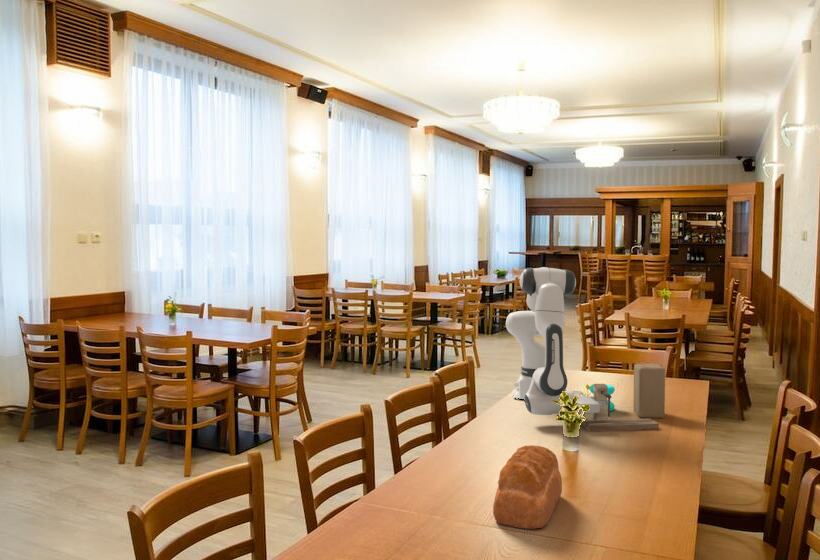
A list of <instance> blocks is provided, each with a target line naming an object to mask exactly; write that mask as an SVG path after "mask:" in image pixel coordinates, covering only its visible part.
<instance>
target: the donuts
mask: <svg viewBox="0 0 820 560" xmlns="http://www.w3.org/2000/svg"><path fill="white" fill-rule="evenodd" d="M594 384H595V383H594ZM594 384H591V385H590V386H589V391H590V392H591V393H592V394H593V395H594ZM604 384H605V385H607V386H608V394H609V395H611V396H612V395H613V394H614V393H615V391H616V388H615V387H614V386H613V385H611V384H608V383H604ZM614 409H615V403H614V402H612V401H611V400H610V412H612V411H614ZM607 413H608V405H607Z"/></svg>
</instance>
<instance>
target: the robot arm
mask: <svg viewBox="0 0 820 560" xmlns="http://www.w3.org/2000/svg"><path fill="white" fill-rule="evenodd" d="M576 285H577V279H576V275H575V273H574V272H573V271H571V270H568V269H560V268H554V267H546V266H542V267H535V268H533V267H527V268H524V269H522V272H521V274H520V276H519V286H520V290H521V291H522V292H523V293H525V294H527V295H526V306H527V307H528V308H529V309H530V310H518V311H514V312H510V313H509V314H508V315H507V317H506V320H505V328H506V330H507V332H508V333H509V334H510V335H511V336H513V337H514V338H515V339H516V341H517V342H518V344H519V345H520V350H521V357H522V358H521V359H522V363H521V364H522V365H521V368H520V376H519V377H518V379H517V381H514V383H513V386H514V388H515V389H512V395H513V394H514V393H515V392H516V393H515V394H514V397H515V398H520V399H524V400H525V401H524V400H523V401H524V405H525V408H526V410H527V411H528V412H529V413H530V414H531V415H537V416H550V415H560V414H559V411H560V410H561V409H562V406H560V405H558V404H556V403H554V402H553V401H552V400H555V401H560V399H559V396H560V394H561V393H562V391H565V392H566V393H567V394H568V395H569V396H570V399H571V400H572V399H573V397H574V395H579V394H580V393H583V396H579V398H578V400H577V403H578V405H580V406H582V405H585V404H588V405H590V410H589V411H587V412H584V413H583V414H593V413H599V412H600V407H601V406H606V401H595V400H594V396H589V395H587V394H586V393H584V392H583V391H581V390H580V391H579V390H567V387H568V376H567V375H566V374H567V373H566V370H565V368H564V339H563V335H564V334H563V333H564V328H565V325H566V324H565V323H566V321H565V320H566V319H565V301H564V300H565V299H564V297H566V296H570V295H572V294H573V293H574V291H575V289H576ZM537 336H539V337H542V340H543V341H544V344H545V345H543V344H541V343H539V342H538V341H535V337H537ZM516 389H517V391H518V392H517V391H516ZM586 395H587V396H588V397H587V398H586V397H585V396H586ZM514 397H513V398H514ZM578 412H579V413H582V409H580V410H579V411H578Z"/></svg>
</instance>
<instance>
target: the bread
mask: <svg viewBox="0 0 820 560" xmlns="http://www.w3.org/2000/svg"><path fill="white" fill-rule="evenodd" d="M559 468H560V467H559V462H558V458H557V455H556V454H555V452H554V451H552V450H551V449H549V448H548V447H544V446H542V445H531V444H529V445H524V446H521V447H519V448H517V449H516V451H515V452H514V453H513V454H512V455H511V457H509V458H508V459H507V461H506V463H505V465H504V466H502V469H501V470H500V471H499V476H498V477H499V478H498V481H497V484H498V485H497V488H496V491H495V496H494V502H493V504H492V505H493V506H492V507H493V509H492V513H493V517H494V520H495V521H496V522H497V523H498V524H500V525H503V526H507V527H512V528H516V529H517V528H518V529H529V530H535V529H541V528H542V529H543V528H544V527H545V526H546V525H547V524H548V522H550V521H549V520H550V518H551V517H552V515H553V514H554V510H555V509H556V507H557V505H558V503H559V501H560V498H561V495H562V493H563V482H562V474H561V472H560V469H559Z"/></svg>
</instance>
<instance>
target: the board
mask: <svg viewBox="0 0 820 560" xmlns="http://www.w3.org/2000/svg"><path fill="white" fill-rule="evenodd" d="M659 425H660V424H659V422H656V421H655V420H653V418H630V419H629V418H628V419H626V418H625V419H607V420H598V421H594V420H583V427H584V428H586V429H587V430H588V431H589V432H610V431H612V432H613V431H639V430H640V431H641V430H642V429H645V430H659V428H660V426H659ZM642 431H643V430H642Z"/></svg>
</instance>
